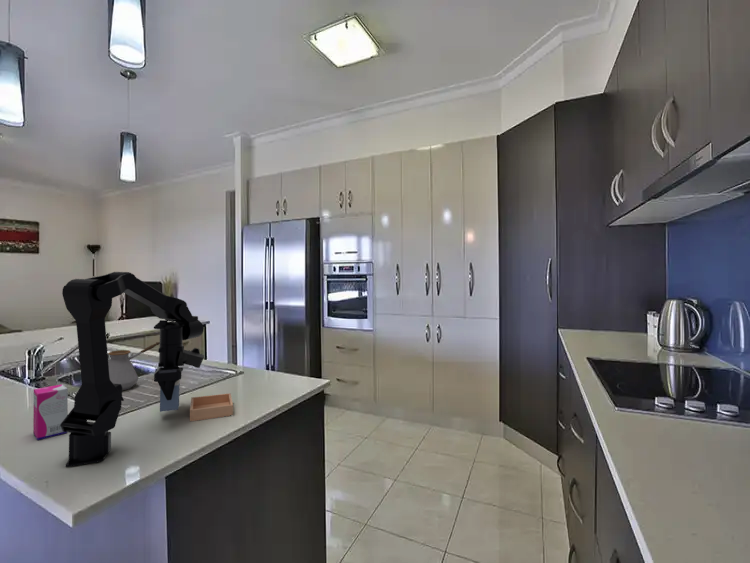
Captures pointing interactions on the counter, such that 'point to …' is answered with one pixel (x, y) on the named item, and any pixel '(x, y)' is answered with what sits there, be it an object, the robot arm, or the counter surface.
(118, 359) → the coffee pot
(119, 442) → the counter surface
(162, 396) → the block
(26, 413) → the counter surface
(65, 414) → the supplement box
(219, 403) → the bin
